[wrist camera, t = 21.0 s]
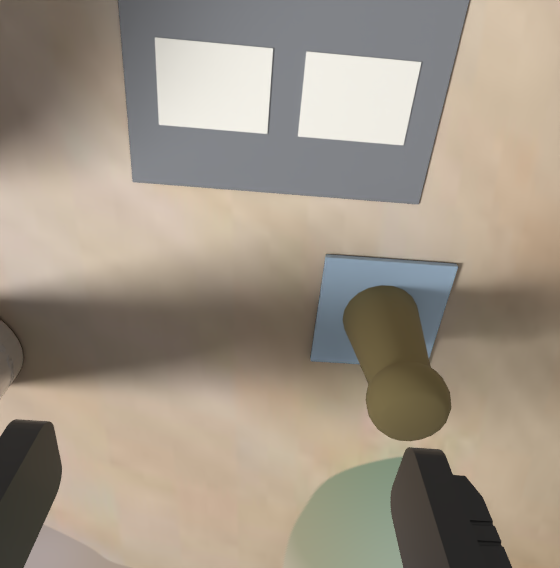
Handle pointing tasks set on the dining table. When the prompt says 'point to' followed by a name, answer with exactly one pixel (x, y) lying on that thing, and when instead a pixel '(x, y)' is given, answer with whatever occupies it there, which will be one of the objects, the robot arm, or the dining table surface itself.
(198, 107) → the label mat
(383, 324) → the cork
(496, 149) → the dining table surface
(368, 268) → the pad
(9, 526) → the robot arm
